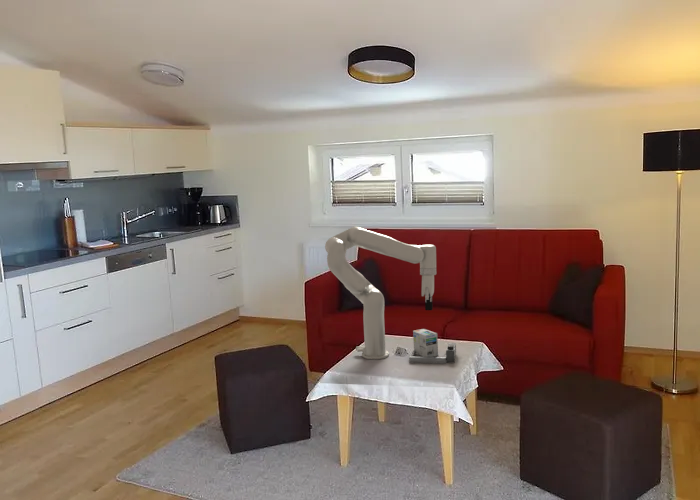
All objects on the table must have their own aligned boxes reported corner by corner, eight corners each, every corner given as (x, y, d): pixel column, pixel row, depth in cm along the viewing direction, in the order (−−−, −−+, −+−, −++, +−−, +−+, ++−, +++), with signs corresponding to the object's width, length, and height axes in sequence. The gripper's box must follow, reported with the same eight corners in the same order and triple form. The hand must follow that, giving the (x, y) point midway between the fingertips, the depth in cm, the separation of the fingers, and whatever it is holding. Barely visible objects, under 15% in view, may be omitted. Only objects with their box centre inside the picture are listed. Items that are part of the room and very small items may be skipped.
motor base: (409, 362, 276) (408, 348, 275) (413, 351, 291) (413, 338, 290) (454, 363, 271) (453, 349, 270) (456, 352, 286) (456, 338, 285)
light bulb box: (438, 355, 283) (438, 332, 282) (426, 358, 280) (425, 335, 279) (425, 350, 293) (424, 328, 291) (413, 352, 289) (412, 330, 288)
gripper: (422, 268, 296) (422, 306, 298) (417, 274, 281) (418, 313, 284) (438, 268, 294) (438, 306, 296) (434, 274, 280) (435, 314, 282)
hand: (428, 309), depth 290 cm, fingers closed
